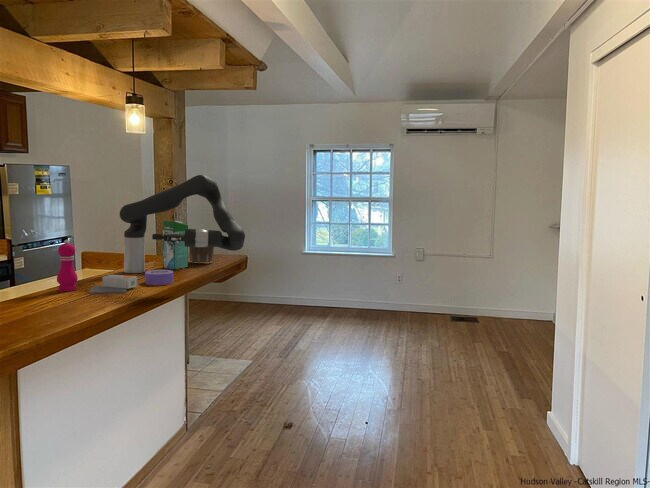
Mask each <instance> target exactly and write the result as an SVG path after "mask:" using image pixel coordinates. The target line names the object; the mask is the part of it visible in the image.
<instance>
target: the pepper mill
mask: <svg viewBox="0 0 650 488" xmlns="http://www.w3.org/2000/svg"><path fill="white" fill-rule="evenodd" d="M57 253H58V254H59V255H60V256H59V261H60V268H59V270H58V273H57V275H56V282H57V283H58V284H59V285H58V288H57V290H58V291H59V292H63V291H67V292H74V291H76V290H77V284H76V283H77V282H78V273H77V272H76V270H75V267H74V260H75V256H74V254H75V253H76V247H75V245H73V244H71V243H70V240H68V239H65V240H64V241H63V244H60V245H59V246H58V248H57ZM73 290H74V291H73Z"/></svg>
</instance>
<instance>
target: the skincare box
mask: <svg viewBox="0 0 650 488" xmlns="http://www.w3.org/2000/svg"><path fill="white" fill-rule="evenodd" d="M101 279H102V283H101V284H102V285H101V286H103V287H114V288H127V290H128V289H129V290H130V289H132V288H134V287H137V286H138V276H135V275H124V274H123V275H122V274H109V275H104V276H102V278H101Z"/></svg>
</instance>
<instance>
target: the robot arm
mask: <svg viewBox="0 0 650 488" xmlns="http://www.w3.org/2000/svg"><path fill="white" fill-rule="evenodd" d="M195 195H196V196H197V195H198V196H200V197H202V198H205V199H206V200H207V201H208V202H209V204H210V206H211V208H212V213H213V218H214V220H215V222H216V224H217V226H218V227H219V229H220V230H214V229H213V230H210V229H202V228H201V229H200V228H199V229H198V228H188V229H185V234H180V232H176V233H163V232H162V233H152V238H151V239H152V240H154V241H155V240H160V241H161V240H162V242H163V241H168V242H176V243H180V241H184V246H185V247H188V248H189V247H214V248H220V249H223V250H226V251H232V252H235V251H239V250H242V248H244V243H245V239H246V234H245V230H244V229H243V228H242V226H240V225H239V224H238V222H236V221H235V219H234V217H233V215H232V214H231V212H230V210H229V209H228V207H227V206H226V203H225V202H224V201H225V200H224V199H223V196H222V194H221V191H220V188H219V185H218V184H217V182H216V181H215V180H214V179H213V178H211V177H209V176H206V175H205V174H197V175H195V176H193V177H191V178H189V179H187V180H186V181H184V182H182V183H180V184H178V185H174V186H172V187H169V188H168V189H164V190H162V191H159V192H157V193H155V194H152V195H151V196H148V197H146V198H143V199H141V200H139V201H135V202H131V203H128V204H125V205H123V206H122V207H121V209H120V210H119V217H120V218H119V219H121V220H122V222H124V223H127V224H130V225H129V227H128V228H127V229H126V230H125V231H124V233H123V237H124V238H123V240H124V241H123V248H124V251H123V253H124V256H123V258H124V259H123V268H124V269H123V270H124V271H123V272H124V273H125V274H140V273H145V272H146V271H145V268H146V267H145V256H146V255H145V254H146V253H145V250H146V249H145V245H146V244H145V234H146V232H147V221H148V215H154V214H155V215H156V214H161V213H164V212H168V211H171V210H173V209H176V208H177V207H179V206H180V204H181V203H182V202H183V201H184V199H187V198H188V197H191V196H195ZM221 231H222V232H223V233H226V235H227V236H226V235H223V233H222V232H221ZM167 236H168V238H167Z"/></svg>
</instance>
